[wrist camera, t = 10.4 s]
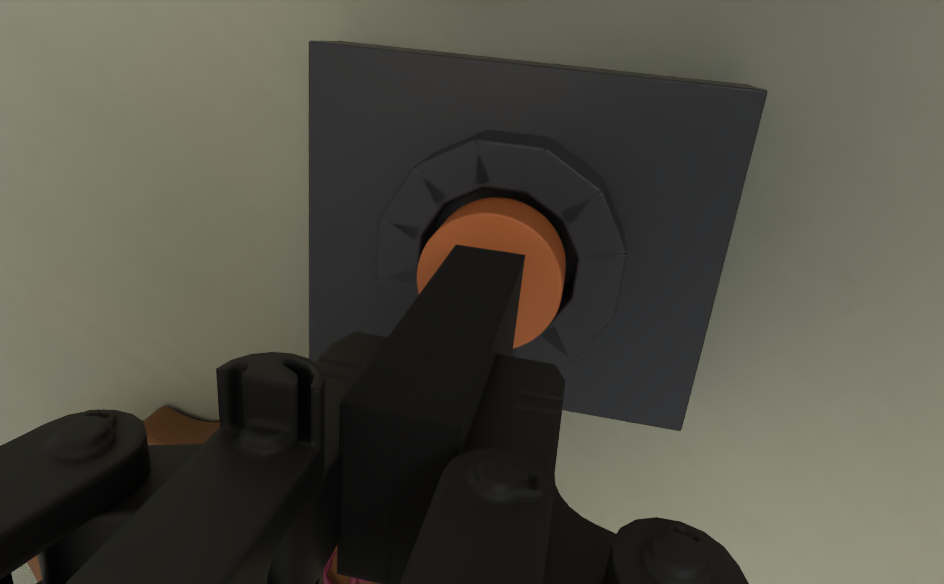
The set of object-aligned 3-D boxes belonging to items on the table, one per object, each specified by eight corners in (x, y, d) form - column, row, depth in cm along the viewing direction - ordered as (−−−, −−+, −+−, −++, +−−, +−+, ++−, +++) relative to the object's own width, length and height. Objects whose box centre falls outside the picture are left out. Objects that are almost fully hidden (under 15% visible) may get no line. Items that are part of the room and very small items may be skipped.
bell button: (575, 206, 16) (572, 224, 15) (555, 333, 18) (551, 363, 16) (437, 187, 17) (420, 203, 15) (428, 313, 18) (411, 339, 17)
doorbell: (749, 84, 18) (788, 95, 14) (674, 395, 22) (688, 467, 18) (338, 40, 20) (277, 40, 16) (333, 337, 23) (283, 392, 20)
